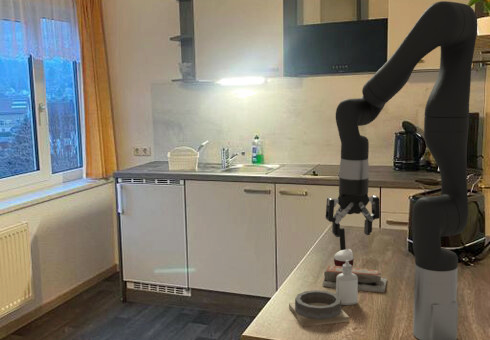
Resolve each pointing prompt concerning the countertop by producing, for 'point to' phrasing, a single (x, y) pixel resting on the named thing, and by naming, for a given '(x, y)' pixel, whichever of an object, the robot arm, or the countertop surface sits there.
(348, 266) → the eye dropper bottle
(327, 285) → the packaged product
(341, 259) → the red-capped knob on stick
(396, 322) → the countertop surface
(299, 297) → the collar board
